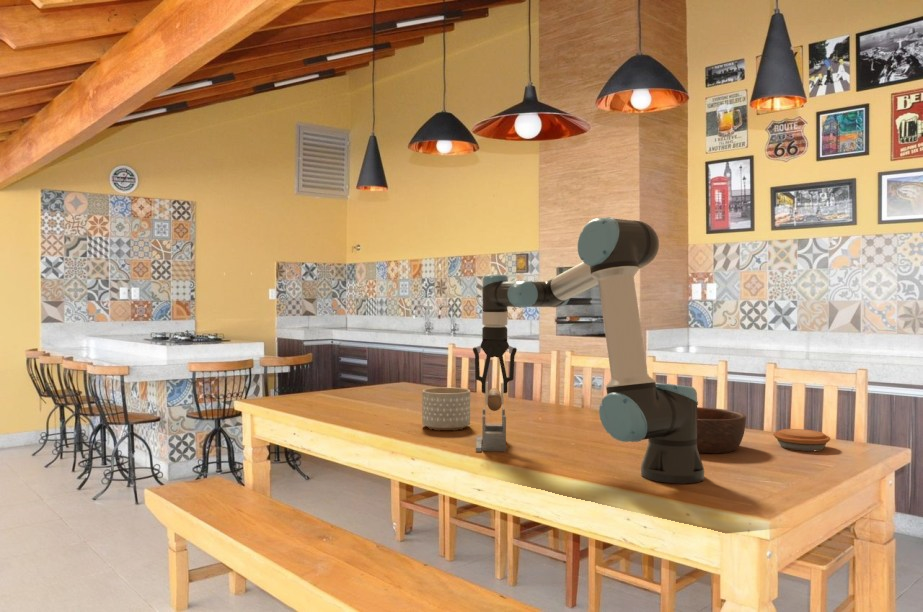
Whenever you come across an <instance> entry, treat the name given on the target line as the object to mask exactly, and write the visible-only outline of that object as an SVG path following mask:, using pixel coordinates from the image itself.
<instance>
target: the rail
mask: <svg viewBox="0 0 923 612" xmlns="http://www.w3.org/2000/svg"><path fill="white" fill-rule="evenodd" d="M487 406H488V409H489V410H491V411H493V412H495V411H496V412H497V411H498V410H500V409H502V408H501V407H502V406H503V405H502V403H501V390H499V389H498V388H496V387H495V388H491V389H488V405H487Z"/></svg>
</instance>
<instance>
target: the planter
mask: <svg viewBox="0 0 923 612" xmlns="http://www.w3.org/2000/svg"><path fill="white" fill-rule="evenodd" d="M421 393H422V395H421V397H422V398H421V399H422V407H421V408H422V409H421V410H422V411H421V414H422V415H421V416H422V426H425V427H426V428H427V427H428V428H429V430H432V429H434V430H433V431H440V430H453V431H459V430H458V429H461V430H464V429H465V428H466V427H467V426H469V425H471V390H470V389H468V388H462V387H431V388H425V389H424V388H423V389H422V392H421ZM428 428H427V429H428ZM463 428H464V429H463Z"/></svg>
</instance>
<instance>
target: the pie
mask: <svg viewBox="0 0 923 612" xmlns="http://www.w3.org/2000/svg"><path fill="white" fill-rule="evenodd" d="M772 435H773V436H774V438H775V439H777V442H778V443H779V445H780V447H781V448H783V447H785V448H784V449H786V448H788V449H787V450H791V449H794V450H793V451H798V450H801V452H815V451H814V450H820V451H822V450H824V448H825V447H826V445H827V443H828V442H829V441H831V437H830V436H828V435H826V434H825V433H824V432H821V431H817V430H812V429H802V428H784V429H780V430H777V431H775V432H773V433H772ZM821 449H822V450H821Z"/></svg>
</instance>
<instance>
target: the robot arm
mask: <svg viewBox="0 0 923 612" xmlns="http://www.w3.org/2000/svg"><path fill="white" fill-rule="evenodd" d="M659 247H660V240H659V235H658V234H657V232H656V231H655V229H654V228H653V227H652V226H651V225H650V224H648V223H647V222H644V221H640V220H633V219H623V218H613V217H598V218H594V219H592V220H590V221H589V222H587V223H586V224H585V225H584V227H583V228H582V231H580V234H579V237H578V239H577V254H578V257H579V259H580V260H581V261H582V262H581V263H579V264H577V265H575V266H573V267H571V268H569V269H567V270H565V271H564V272H562V273H560V274H558V275H556V276H555V277H552V278H551V279H548V280H546V281H532V280H531V281H528V280H512V281H509V279H508V276H507V275H506V274H486V275H484V276H483V278H482V287H481V290H482V291H481V292H482V319H481V320H482V325H483V327H482V330H481V331H482V332H481V333H482V334H481V335H482V337H481V339H482V341H481V343H480V345H478V346H474V347H472V352H473V354H474V364H475V366H474V367H475V368H474V369H475V371H474V372H475V380H476V381H478V382H480V383H481V393H482V394H485V395H484V396H485V401H484V403H485V405H487V406H488V392H489V381H487V376H488V372H489V366H490V361H491V358H495V357H496V358H498V360H499V365H500V370H501V371H500V372H501V376H502V381H500V394H501V403H502V405H501V406H503V405H504V394H507V393H508V384H509V382H512V381H513V380H514V378H515V377H514V376H515V375H514V373H515V356H516V354H517V351H518V349H517V347H515V346H514V347H513V346H511V345H510V344H509V342H508V327H507V326H508V313H509V312H508V308H509V307H510V308H558V307H563V306H566V305H567V304H568V302H569V301H570V299H571V298H574V297H575V296H578V295H580V294H581V293H583V292H585V291H587V290H589V289H591V288H594V287H597V286H598V288H599V289H598V291H599V297H600V298H599V299H600V305H601V312H602V313H601V314H602V319H603V327H604V333H605V334H604V335H605V341H606V342H605V343H606V349H607V355H608V357H607V358H608V362H609V363H608V364H609V371H610V380H609V382H608V383H607V384H606V386H605V389H606V390H605V391H606V395H605V396H603V398H602V400H601V403H600V404H599V410H598V414H599V418H600V422H601V425H602V427H603V429H604V430H605V432H606V433H607V434H609V435H610V436H611V438H613V440H614V439H615V440H616V441H618V442H624V443H628V442H631V443H634V442H635V443H638V442H641V441H644V440H648V443H647V444H648V445H647V446H646V447H647V448H646V450H645V453H644V456H643V459H642V462H641V466H640V474H641V476H642V477H643V478H645V479H648V480H650V481H654V482H660V483H665V484H694V483H699V482H702V481H704V480H705V469H704V464H703V462H702V459H701V455H700V453H699V452H698V449H697V407H698V405H699V401H698V392H697V389H695V388H694V387H693V386H689V385H687V386H686V385H679V384H671V383H662V382H656V380H655V379H653V378H652V377H651V376H650V375H649V373H648V367H647V360H646V353H645V352H646V351H645V346H644V340H643V333H642V332H643V331H642V326H641V318H640V312H639V311H640V310H639V306H638V305H639V304H638V298H637V291H636V283H635V275H637V273H638V272H639V270H640V269H642V268H644V267H646V266H648V265H649V264H651V263H652V261H654V259H655V258H656V256H657V254H658V252H659V249H660V248H659ZM481 350H482V351H483V352H484V354H485V355H486V357H485V363H484V367H483V372H482V376H481V374H480V373H481V371H480V353H481ZM507 351H508V353H509V354H510V356H509V376H508V375H507V371H506V366H505V361H504V356H503V355H504V354H505V353H506V352H507Z"/></svg>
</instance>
